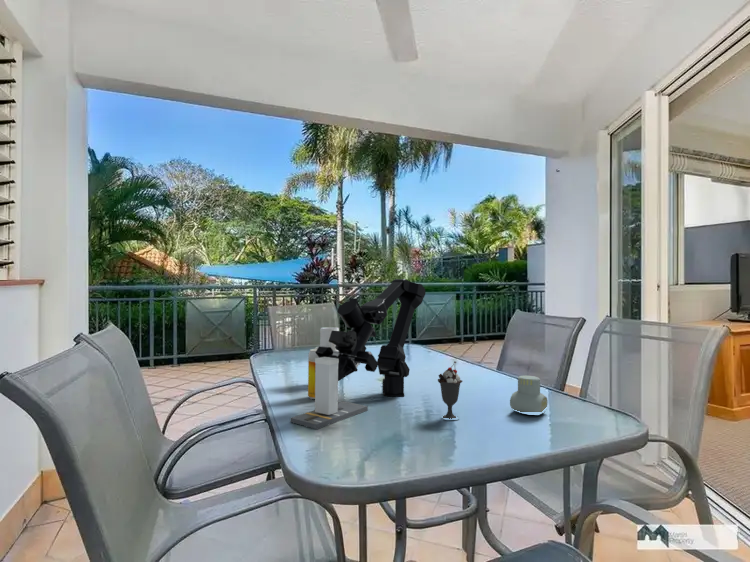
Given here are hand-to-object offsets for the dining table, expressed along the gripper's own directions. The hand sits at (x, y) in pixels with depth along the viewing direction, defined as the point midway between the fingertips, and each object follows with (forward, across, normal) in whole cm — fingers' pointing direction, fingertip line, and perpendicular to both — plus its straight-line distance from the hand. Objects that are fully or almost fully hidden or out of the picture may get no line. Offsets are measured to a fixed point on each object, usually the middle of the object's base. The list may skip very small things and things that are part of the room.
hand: (331, 383), depth 119 cm
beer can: (-2, -16, +15) cm, 22 cm away
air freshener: (-19, +42, +32) cm, 56 cm away
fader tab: (+7, 0, +4) cm, 8 cm away
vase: (-13, -26, +26) cm, 39 cm away
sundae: (-6, +26, +19) cm, 33 cm away
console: (+6, 0, +6) cm, 9 cm away
